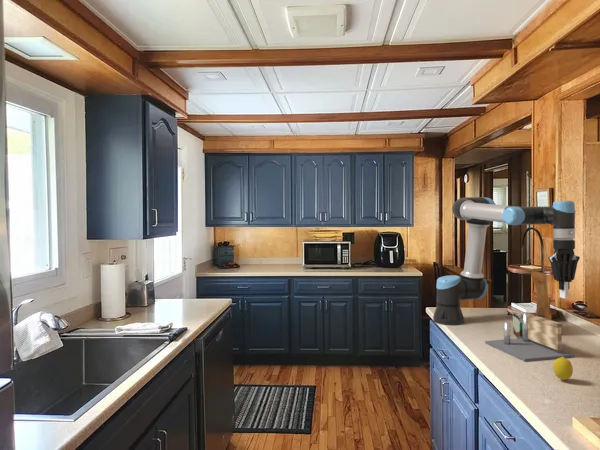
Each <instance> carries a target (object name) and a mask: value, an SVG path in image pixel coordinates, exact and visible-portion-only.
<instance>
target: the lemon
mask: <svg viewBox="0 0 600 450" xmlns="http://www.w3.org/2000/svg"><path fill="white" fill-rule="evenodd" d="M552 369H553V373H554V375H555V376H556V377H557V378H558V379H560V380H561V381H562V382H564V381H565V380H568V379H570V378H571V377H572V376H573V372H574V370H573V369H574V368H573V365H572V363H571V361H570V360H569V358H564V357H561V358H558V359H554V362H553V366H552Z"/></svg>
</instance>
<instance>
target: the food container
mask: <svg viewBox="0 0 600 450" xmlns="http://www.w3.org/2000/svg"><path fill="white" fill-rule="evenodd" d="M512 334H513V336H514V335H515V336H514V337H515V338H516V339H517V338H523V312H516V311H515V312H514V311H512Z"/></svg>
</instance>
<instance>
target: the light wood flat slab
mask: <svg viewBox="0 0 600 450" xmlns="http://www.w3.org/2000/svg"><path fill="white" fill-rule="evenodd" d="M527 318H528V339H530V340H532V341H535V342H538V343H540V344H543V345H545V346H548V347H550V348H553V349H556V350H563V348H562V346H563V345H562V343H563V342H562V336H563V335H562V333H563V331H562V330H563V323H561V322H557V321H555V320H548V319H545V318H542V317H538V316H536V314H530V315H527Z"/></svg>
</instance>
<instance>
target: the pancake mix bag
mask: <svg viewBox="0 0 600 450" xmlns="http://www.w3.org/2000/svg"><path fill="white" fill-rule="evenodd" d="M530 276H531V278H532V281H533V283H534V287H535V292H536V300H537V301H536V307H535V308H536V310H535V316H538V317H542V318H545V319H548V320H552V319H553V318H552V310H551V304H550V298H549V288H548V287H549V286H548V285H549V284H548V275H547V274H546V273H544V272H540V271H535V270H532V271H531V272H530ZM552 321H553V320H552Z"/></svg>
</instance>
